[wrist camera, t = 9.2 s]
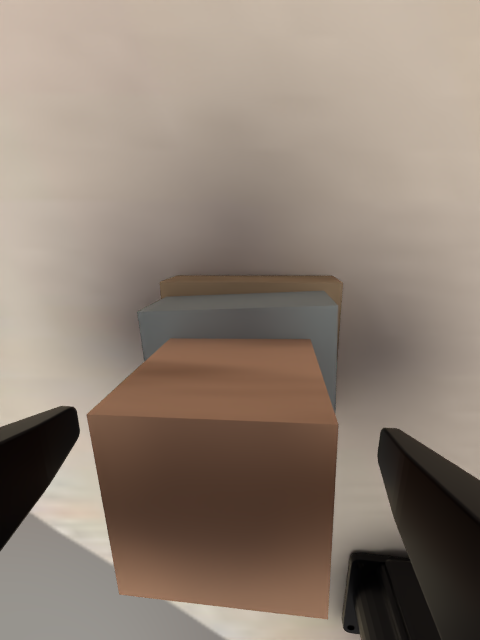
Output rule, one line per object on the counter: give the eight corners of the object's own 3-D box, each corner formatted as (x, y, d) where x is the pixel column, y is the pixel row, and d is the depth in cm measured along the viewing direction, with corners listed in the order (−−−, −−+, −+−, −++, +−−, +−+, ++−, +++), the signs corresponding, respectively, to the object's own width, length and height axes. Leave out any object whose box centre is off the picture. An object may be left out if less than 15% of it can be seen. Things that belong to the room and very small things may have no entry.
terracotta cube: (307, 462, 12) (328, 619, 7) (181, 455, 12) (119, 594, 7) (310, 339, 10) (338, 424, 6) (169, 338, 11) (86, 414, 6)
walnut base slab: (321, 412, 18) (330, 446, 15) (188, 405, 19) (172, 436, 16) (330, 274, 16) (342, 282, 13) (180, 274, 16) (159, 282, 14)
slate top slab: (322, 433, 15) (334, 481, 12) (182, 430, 16) (161, 474, 13) (324, 290, 13) (337, 305, 10) (166, 296, 14) (137, 311, 11)
